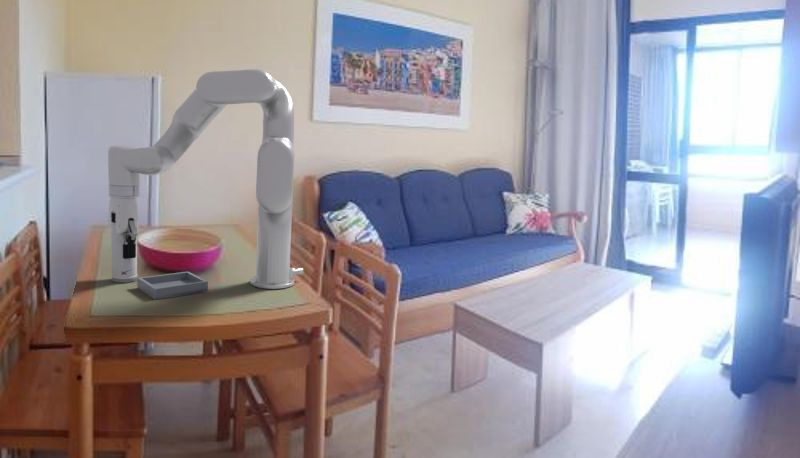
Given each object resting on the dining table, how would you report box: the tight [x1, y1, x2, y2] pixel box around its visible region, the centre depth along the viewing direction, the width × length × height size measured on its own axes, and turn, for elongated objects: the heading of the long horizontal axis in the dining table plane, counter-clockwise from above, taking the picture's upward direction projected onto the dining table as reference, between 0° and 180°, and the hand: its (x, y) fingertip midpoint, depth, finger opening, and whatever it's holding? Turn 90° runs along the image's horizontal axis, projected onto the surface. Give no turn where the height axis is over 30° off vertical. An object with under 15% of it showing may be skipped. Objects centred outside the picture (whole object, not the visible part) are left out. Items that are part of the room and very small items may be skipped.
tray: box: [136, 271, 209, 300], centre depth 151 cm, size 14×12×3 cm
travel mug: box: [110, 213, 138, 284], centre depth 155 cm, size 6×7×20 cm
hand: (124, 254), depth 156 cm, fingers closed on travel mug, 6 cm apart
